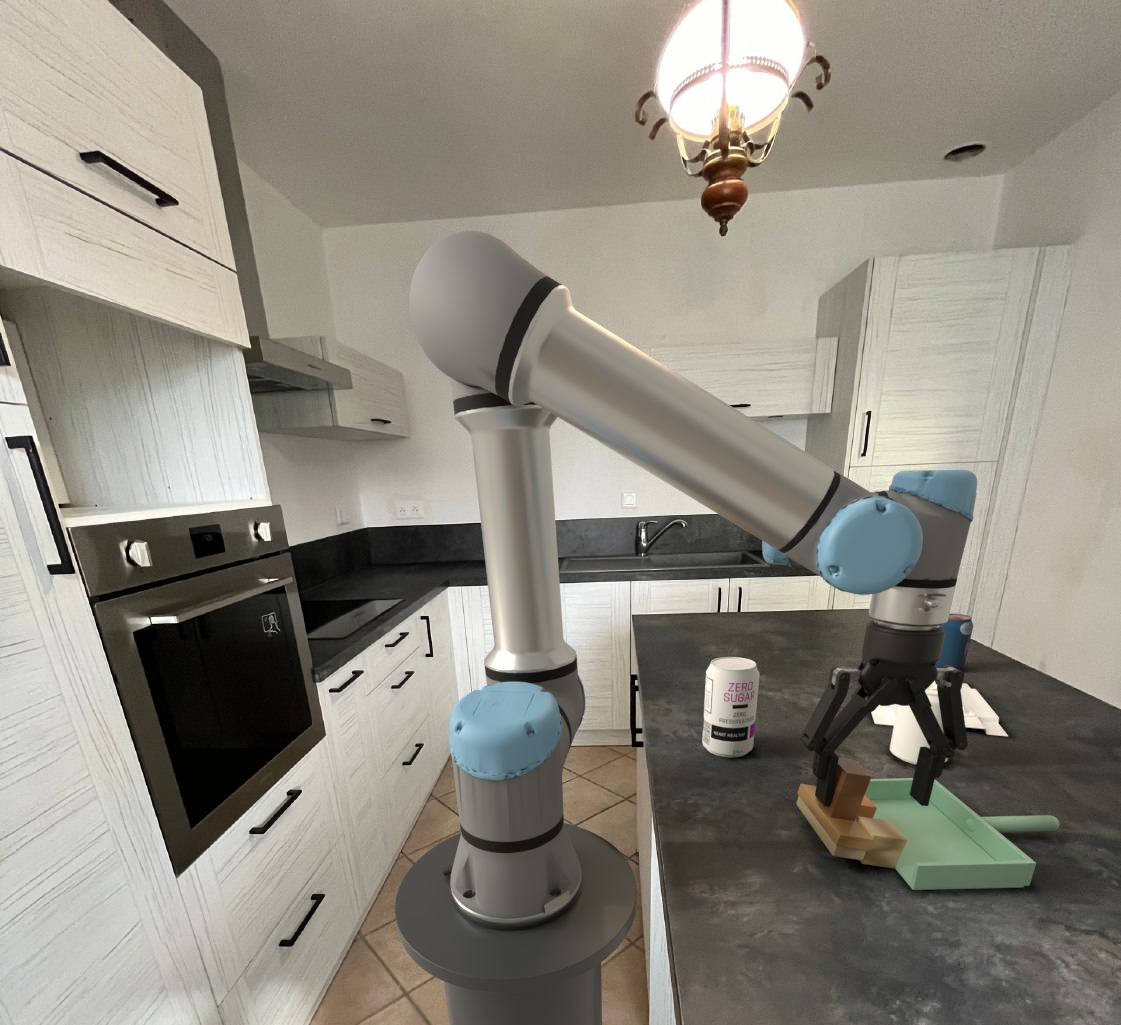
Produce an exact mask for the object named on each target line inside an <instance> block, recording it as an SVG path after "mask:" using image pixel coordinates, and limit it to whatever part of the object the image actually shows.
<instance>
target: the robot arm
mask: <svg viewBox="0 0 1121 1025" xmlns="http://www.w3.org/2000/svg"><path fill="white" fill-rule="evenodd" d="M571 296H572V295H571V292H570V290H569V288H568V287H567V286H565V285H563V284H562V283H560V282H558V281H557V280H555V279H553V278H552V277H550V276H549V275H547V274H546V273H545V272H543V271H542V270H540V269H539V268H537V267H536V266H535V265H533V264H532V263H530V262H529V261H527V260H526V259H525V258H523V257H522V256H521V255H520V254H519V253H518V252H517V251H516V250H514V249H513V248H512V247H511V246H510V245H508V244H507V243H505V242H504V241H503V240H501V239H499V238H497V237H496V236H493V235H491V234H490V233H486V232H482V231H478V230H462V231H457V232H453V233H451V234H449V235H446V236H444V237H442V238H439V240H437V241H436V242H435V243H434V244H433V245H431V246H430V247H429V248H428V249H427V250H426V252H425V253H424V255H423V256H422V257H421V259H420V260H419V262H418V264H417V266H416V268H415V270H414V273H413V276H412V279H411V286H410V288H409V302H408V303H409V304H408V305H409V316H410V321H411V324H412V330H413V333H414V335H415V337H416V340H417V343H418V344H419V346H420V348H421V349H422V351H423V352H424V354H425V356H426V357H427V358H428V360H430V362H431V363H432V364H433V366H435V367H436V368H437V369H438V370H439V371H440V372H442V373H443V374H444V375H445V376H447V377H449V378H450V379H449V380H450V387H451V388H450V389H451V395H452V405H453V412H454V413H453V414H454V419H455V420H456V421H457V422H458V424H460V425H461V426H462V427H463V428H464V429H465V430H466V431H467V432H468V433H469V435H470V438H471V446H472V455H473V463H474V472H475V482H476V490H477V500H478V508H479V510H478V511H479V517H480V525H481V526H480V528H481V535H482V536H481V537H482V542H483V543H482V544H483V556H484V562H485V571H486V580H487V581H486V582H487V589H488V599H489V607H490V617H491V626H492V633H493V642H494V645H493V648H492V649H491V650H490V651H489V652H488V654H487V655H486V656H485V657H484V660H483V664H484V671H485V682H486V685H484V686H483V687H482V689H474V690H472V691H470V692H468V693H467V694H465V695H464V696H463V697H462V698H461V699H459V700H458V701H457V703H456V704H455V705H454V707H453V708H452V710H451V713H450V717H449V733H448V737H449V738H448V746H449V751H450V755H451V762H452V770H453V779H454V786H455V795H456V804H457V811H458V819H459V829H460V833H461V837H460V840H459V844H458V848H457V852H456V856H455V860H454V864H452V865H450V866H448V867H445V868H443V870H442V871H443V874H444V875H445V876H447V875H449V874H451V878H450V886H451V894H452V900H453V903H454V905H455V907H456V909H457V910H458V911H459V913H460V914H461V915H462V916H463V917H465V918H466V919H467V920H469V921H471V922H472V923H474V924H477V925H479V926H482V927H485V928H489V929H494V930H503V931H516V930H525V929H530V928H534V927H538V926H541V925H544V924H547V923H549V922H551V921H553V920H555V919H557V918H558V917H560V916H561V915H563V914H564V913H565V912H567V911H568V910H569V909H570V908H571V907H572V906H573V904H574V903H575V902H576V900H577V899H578V897H579V894H580V891H581V887H582V876H581V866H580V863H579V859H578V857H577V855H576V852H575V850H574V847H573V845H572V843H571V840H570V838H569V835H568V833H567V831H566V828H565V826H564V823H565V821H564V820H565V818H564V791H563V790H564V789H563V772H564V767H565V766H564V765H565V763H566V761H567V757H568V754H569V752H570V750H571V747H572V744H573V742H574V739H575V736H576V734H577V731H578V730H579V728H580V726H581V724H582V722H583V720H584V715H585V712H586V693H585V688H584V684H583V681H582V680H581V677H580V675H579V667H578V654H577V651H576V650H575V648H573V647H572V646H571V645H570V644H569V643H568V642H566V641H565V639H564V626H563V612H562V611H563V610H562V597H561V596H562V595H561V582H560V581H561V580H560V567H559V554H558V553H559V552H558V539H557V538H558V536H557V524H556V509H555V496H554V495H555V492H554V478H553V464H552V450H551V449H552V448H551V436H550V434H551V433H550V430H551V428H552V425H553V424H555V422H556V420H557V419H558V418H559V419H560V420H562V421H563V422H565V423H567V424H569V425H570V426H572V427H574V428H575V429H576V430H578V431H580V432H581V433H583V434H585V435H587V436H588V437H590V438H592V439H593V440H595V441H597V442H599V444H601V445H604V446H605V447H607V448H608V449H610V450H612V451H613V452H615V453H617V454H619V455H620V456H621V457H623V458H624V459H626V460H628V461H630V462H631V463H633V464H635V465H636V466H638V467H640V468H641V469H643V470H644V471H646V472H648V473H649V474H651V475H653V476H654V477H656V478H658V479H660V480H661V481H663V482H665V483H666V484H668V485H669V486H671V487H673V488H674V489H676V490H678V491H680V493H682V494H684V495H686V496H687V497H689V498H691V499H692V500H694V501H695V502H697V503H699V504H700V505H703V506H704V507H706V508H707V509H709V510H711V511H712V512H714V513H716V514H718V515H719V516H721V517H723V518H724V519H726V520H728V521H729V522H731V523H733V524H734V525H736V526H737V527H739V528H741V529H742V530H744V531H745V532H747V533H748V534H750V535H752V536H753V537H756V538H757V539H759V540H761V550H762V557H763V559H764V561H765V562H766V564H769V565H776V566H786V567H788V568H793V567H803V568H805V569H807V570H809V571H810V572H812V573H814V574H815V575H817V576H819V577H820V578H822V580H823V581H824V582H825V583H827V584H828V585H830V587H833V588H835V589H837V590H838V591H841V592H843V593H849V594H853V595H858V596H859V595H860V596H868V595H871V597H870V598H871V599H870V604H869V609H868V616H869V617H870V618H871V620H869V622H868V623H866V627H865V632H864V638H863V644H862V650H861V652H862V653H861V654H862V656H861V660H860V662H859V664H858V666H857V667H856V668H842V667H841V666H839V665H833V666H832V667H831V668H830V670H829V674H828V682H827V686H826V688H825V689H824V692H823V693H822V695H821V697H820V699H819V701H818V703H817V704H816V706H815V708H814V710H813V713H812V714H811V716H810V718H809V720H808V721H807V723H806V725H805V727H804V729H803V730H802V733H801V734H800V737H799V740H800V742H801V743H802V744H803V745H804V747H805V748H807V750H808V751H810V752H814V755H813V763H812V767H811V770H812V774H813V775H814V776H815V778H816V779H817V780H816V785H815V786H816V792H815V796H816V797H817V798H818V800H819V801H820V802H821V803H822V805H823V806H830V805H831V799H832V794H833V788H834V782H835V777H836V771H837V765H838V759H839V758H840V756H838V755H837V754H836V753H835V751H836V750H837V749H838V748H839V747H840V746H841V745H842V743H843V742H844V741H845V740H846V739H847V738H848V736H850V734H851V733H853V731H854V730H855V729H856V728H857V726H858V725H859V724H860V723H861V722H862V721H863V720H864V719H865V717H867V715H868V714H869V713H871V712H873V711H874V710H875V709H876V708H877V707H878V706H879V705H880V706H889V705H894V704H897V705H901V706H910V708H911V710H912V712H913V714H914V717H915V719H916V721H917V723H918V725H919V727H920V729H921V731H922V733H923V735H924V737H925V739H926V741H927V743H928V745H929V746H930V748H928V747H920V750H919V755H918V759H917V763H916V764H915V769H914V773H913V777H912V778H913V781H912V786H911V790H910V794H909V795H910V796H912V797H913V798H914V799H915V800H916V801H917V802H918V803H919V804H920V805H921V806H928V805H929V801H930V797H931V792H932V788H933V784H934V780H936V779H940V777H941V776H942V775H943V771H944V767H945V763H946V762H945V759H946V758H948V759H951V758H953V757H954V756H955V753H956V751H955V750H958V751H964V750H966V749H967V748H968V744H969V742H968V734H967V727H965V720H964V712H963V705H962V697H961V688H962V684H963V683H964V679H965V673H964V671H962V670H957V669H955V668H953V667H951V666H949V665H944V666H942V668H936V662H937V661H938V660H939V659H940V655H941V651H942V647H943V642H944V638H945V633H946V631H945V630H944V628H943V627H942V626H940V625H943V624H945V623H946V622H948V618H949V614H951V608H952V604H953V600H954V596H955V591H956V587H957V583H958V577H959V576H958V575H959V572H960V567H961V563H962V559H963V555H964V551H965V548H966V543H967V540H968V537H969V536H968V535H969V531H970V528H971V523H973V520H974V513H975V512H974V511H975V505H976V500H977V489H978V478H977V476H976V474H975V473H974V472H973V471H970V470H968V469H926V470H925V469H922V470H921V469H920V470H915V469H914V470H911V469H910V470H900V471H898V472H896V473H895V474H894V475H893V477H892V480H891V483H890V485H889V486H888V489H887V490H880V491H879V490H876V491H869V490H867V489H866V488H864V487H863V486H861V485H860V484H858V483H856V482H854V481H853V480H851V479H850V478H848V477H847V476H844V475H842V474H840V473H838V472H837V471H835V470H834V468H832V467H831V466H829V465H828V464H826V463H824V462H822V460H819V459H818V458H816V457H815V456H813V455H811V454H809V453H808V452H806V451H805V450H803V449H801V448H800V447H798V446H797V445H795V444H793V443H792V442H790V441H788V440H786V439H785V438H784V437H782V436H780V435H779V434H777V433H776V432H774V431H772V430H770V429H769V428H768V427H765V426H764V425H762V424H761V423H759V422H757V420H755V419H753V418H751V417H750V416H748V415H747V414H745V413H743V412H741V411H740V410H738V409H736V408H735V407H733V406H731V405H730V404H728V403H727V402H725V401H723V400H722V399H720V398H718V396H715V395H714V394H712V393H711V392H709V391H707V390H705V389H703V387H701V386H699V385H697V384H696V383H694V382H693V381H691V380H690V379H688V378H686V377H684V376H683V375H681V374H680V373H678V372H676V371H674V370H673V369H671V368H669V367H668V366H666V365H665V364H663V363H662V362H660V361H659V360H657V359H655V358H653V357H652V356H650V355H649V354H647V353H645V352H643V351H642V350H640V349H639V348H637V347H636V346H634V345H633V344H631V343H630V342H627V341H626V340H624V339H623V338H621V337H619V335H616V334H614V333H613V332H611V331H610V330H608V329H606V328H605V327H603V326H602V325H600V324H598V323H597V322H596V321H593V320H592V319H590V318H588V317H587V316H585V315H584V314H582V313H580V312H579V311H577V310H576V309H575V307H574V304H573V301H572V300H573V299H572V297H571ZM856 681H857V682H858V684H860V685H859V686H858V687H857V688H856V690H855V691H854V692H853V693H852V695H851V696H850V700H849V701H848V702H847V703H846V705H845V706H844V707H843V708H842V709H841V707H842V705H843V703H844V701H845V699H846V697H847V695H848V692H849V689H852V688H853V687H854V683H855V682H856ZM934 681H935V683H936V685H937V692H938V699H939V706H940V713H941V719H942V726H943V732H942V729H941V727H940V725H939V723H938V721H937V719H936V717H935V715H934V713H933V711H932V709H931V706H932V705H931V703H930V701H929V699H928V696H927V694H926V692H925V690H926V689H927V688H928V687H929V686H930V685H931V684H932V683H933V682H934ZM866 697H867V699H866ZM840 709H841V710H840ZM839 710H840V711H839ZM838 712H839V713H838ZM943 733H944V734H943Z"/></svg>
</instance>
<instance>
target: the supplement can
mask: <svg viewBox="0 0 1121 1025" xmlns="http://www.w3.org/2000/svg"><path fill="white" fill-rule="evenodd" d="M704 684H705V685H704V702H703V720H702V722H703V723H702V742H701V743H702V746H703V747H704V748H705V749H706V750H707V751H708V752H709V753H710V754H713V755H715V756H718V757H723V758H739V757H743V756H746V755H747V754H748V753H749V752H751V751H752V750H753V748H754V740H755V732H756V731H755V730H756V718H757V707H758V696H759V684H760V671H759V669H758V667H757V663H756V662H755V661H754V660H752V659H749V658H744V657H738V656H722V657H717V658H714V659H712V660H711V661H710V664H709V666H708V667H707V669H706V671H705V683H704Z"/></svg>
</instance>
